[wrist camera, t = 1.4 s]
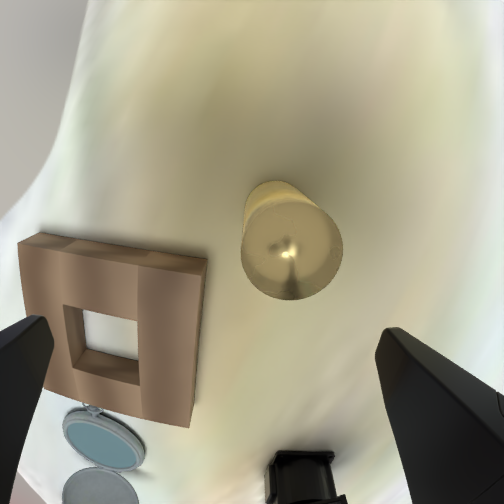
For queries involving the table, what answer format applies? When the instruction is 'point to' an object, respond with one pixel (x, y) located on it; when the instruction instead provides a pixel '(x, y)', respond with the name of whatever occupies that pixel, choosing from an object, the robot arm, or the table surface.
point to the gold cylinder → (288, 243)
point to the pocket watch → (101, 459)
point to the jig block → (124, 306)
